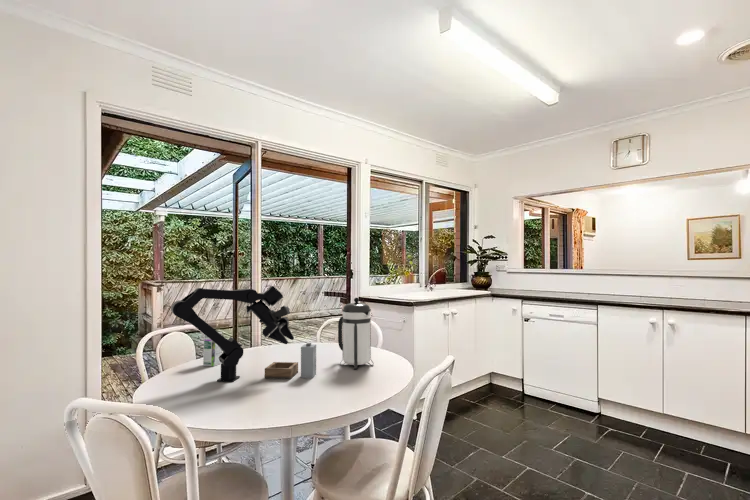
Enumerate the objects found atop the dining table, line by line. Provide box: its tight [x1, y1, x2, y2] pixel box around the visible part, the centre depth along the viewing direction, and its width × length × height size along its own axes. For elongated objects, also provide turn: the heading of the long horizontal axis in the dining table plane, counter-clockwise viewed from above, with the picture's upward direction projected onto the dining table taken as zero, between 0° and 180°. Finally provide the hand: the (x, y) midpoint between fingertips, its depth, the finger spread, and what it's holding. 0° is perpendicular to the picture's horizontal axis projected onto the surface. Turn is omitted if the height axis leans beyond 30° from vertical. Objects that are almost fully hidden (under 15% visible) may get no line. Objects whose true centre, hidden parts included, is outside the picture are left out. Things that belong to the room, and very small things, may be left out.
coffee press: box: [337, 297, 375, 371], centre depth 172 cm, size 17×16×30 cm
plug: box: [300, 342, 317, 379], centre depth 155 cm, size 5×5×13 cm
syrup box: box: [202, 331, 223, 367], centre depth 174 cm, size 6×6×14 cm
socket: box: [264, 361, 299, 380], centre depth 156 cm, size 10×10×4 cm
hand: (290, 341), depth 157 cm, fingers open, 9 cm apart
